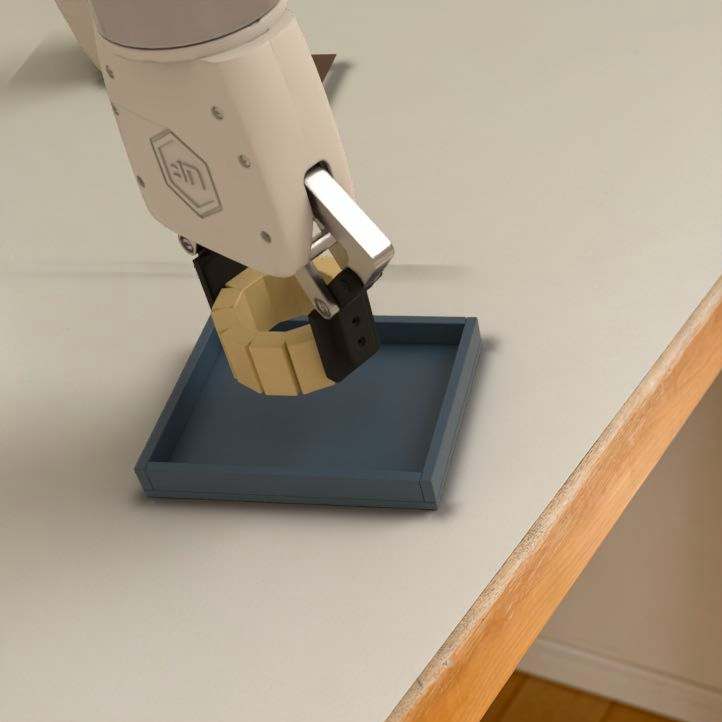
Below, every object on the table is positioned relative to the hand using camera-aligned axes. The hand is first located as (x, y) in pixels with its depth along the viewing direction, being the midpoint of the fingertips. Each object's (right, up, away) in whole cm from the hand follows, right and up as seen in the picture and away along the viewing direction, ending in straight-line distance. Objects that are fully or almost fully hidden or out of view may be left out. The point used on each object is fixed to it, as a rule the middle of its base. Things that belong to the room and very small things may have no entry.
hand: (296, 334), depth 61 cm
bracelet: (0, -1, +1) cm, 1 cm away
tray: (0, -4, +4) cm, 6 cm away
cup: (-18, +25, +32) cm, 45 cm away
